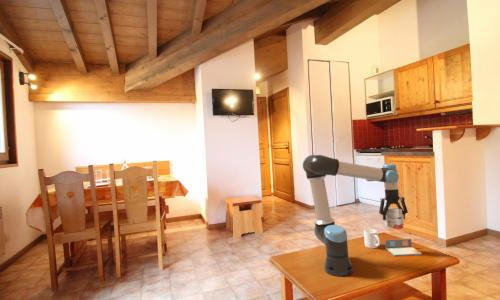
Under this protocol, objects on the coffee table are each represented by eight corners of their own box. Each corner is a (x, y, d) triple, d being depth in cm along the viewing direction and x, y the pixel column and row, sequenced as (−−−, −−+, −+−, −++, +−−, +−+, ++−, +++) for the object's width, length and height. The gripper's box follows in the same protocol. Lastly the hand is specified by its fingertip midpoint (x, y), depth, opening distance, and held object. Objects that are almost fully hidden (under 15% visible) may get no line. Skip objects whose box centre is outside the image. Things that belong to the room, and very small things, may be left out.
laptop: (394, 256, 157) (393, 246, 158) (385, 249, 169) (384, 240, 170) (422, 254, 156) (421, 245, 156) (411, 247, 168) (410, 238, 168)
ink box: (403, 227, 161) (402, 208, 161) (400, 229, 158) (398, 209, 158) (389, 225, 168) (387, 206, 168) (385, 227, 165) (384, 208, 165)
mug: (385, 249, 169) (384, 233, 169) (375, 251, 167) (373, 235, 167) (372, 243, 181) (370, 228, 181) (362, 245, 178) (360, 230, 179)
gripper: (375, 190, 160) (379, 227, 160) (412, 188, 159) (415, 225, 158) (371, 189, 168) (374, 224, 167) (406, 186, 166) (409, 222, 166)
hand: (394, 224), depth 163 cm, fingers closed on ink box, 9 cm apart
